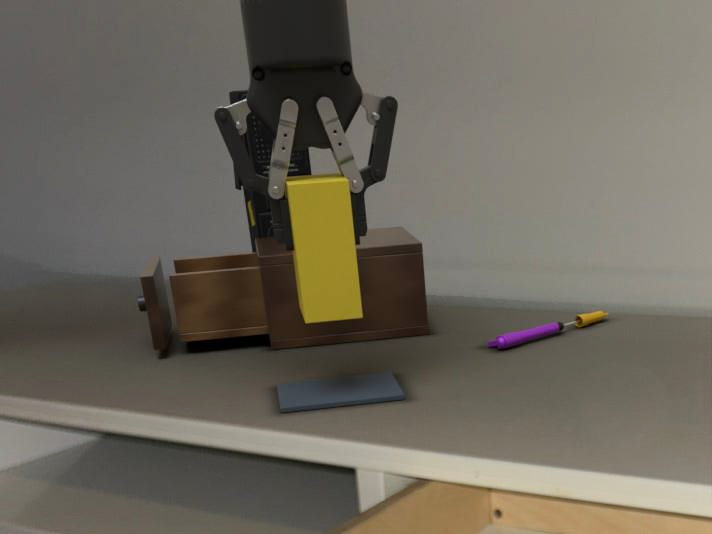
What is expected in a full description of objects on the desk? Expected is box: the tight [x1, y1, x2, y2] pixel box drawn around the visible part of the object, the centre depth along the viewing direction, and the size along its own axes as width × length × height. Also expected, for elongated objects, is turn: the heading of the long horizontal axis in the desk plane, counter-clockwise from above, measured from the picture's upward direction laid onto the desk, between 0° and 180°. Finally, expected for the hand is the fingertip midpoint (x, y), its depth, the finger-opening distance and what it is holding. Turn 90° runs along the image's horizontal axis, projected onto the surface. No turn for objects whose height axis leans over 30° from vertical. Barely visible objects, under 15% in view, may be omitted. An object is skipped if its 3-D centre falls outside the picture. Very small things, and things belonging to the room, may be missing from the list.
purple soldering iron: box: [487, 310, 610, 350], centre depth 105 cm, size 3×1×16 cm
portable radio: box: [228, 89, 313, 252], centre depth 116 cm, size 8×6×25 cm
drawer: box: [136, 251, 269, 351], centre depth 108 cm, size 16×12×7 cm
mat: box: [275, 371, 406, 414], centre depth 89 cm, size 10×8×1 cm
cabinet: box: [255, 226, 430, 351], centre depth 110 cm, size 16×14×9 cm
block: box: [285, 172, 363, 324], centre depth 84 cm, size 4×7×10 cm, turn 12°
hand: (322, 245), depth 84 cm, fingers closed on block, 4 cm apart
